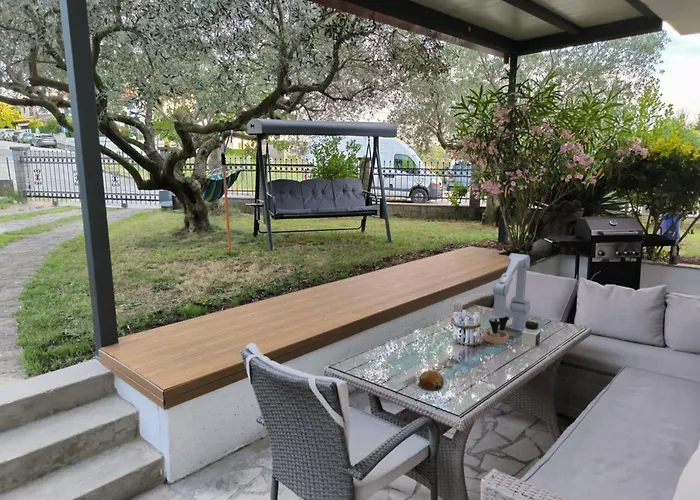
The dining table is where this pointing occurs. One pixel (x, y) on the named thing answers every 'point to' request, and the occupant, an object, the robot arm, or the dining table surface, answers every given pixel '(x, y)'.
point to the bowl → (496, 340)
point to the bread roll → (431, 380)
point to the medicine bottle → (531, 334)
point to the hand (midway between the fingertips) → (498, 331)
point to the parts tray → (512, 332)
